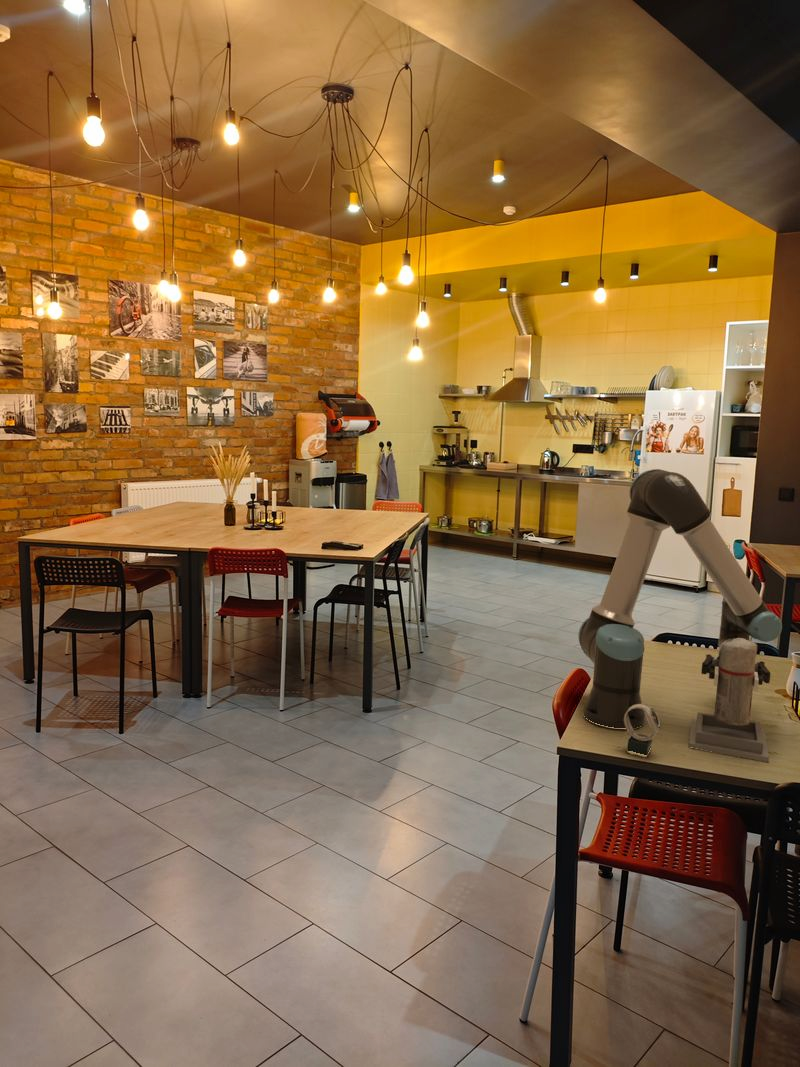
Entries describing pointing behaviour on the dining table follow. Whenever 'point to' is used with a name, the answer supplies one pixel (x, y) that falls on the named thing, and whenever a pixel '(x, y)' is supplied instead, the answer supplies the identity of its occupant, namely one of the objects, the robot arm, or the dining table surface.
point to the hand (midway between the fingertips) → (736, 682)
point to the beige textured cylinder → (735, 682)
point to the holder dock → (728, 738)
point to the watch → (640, 741)
